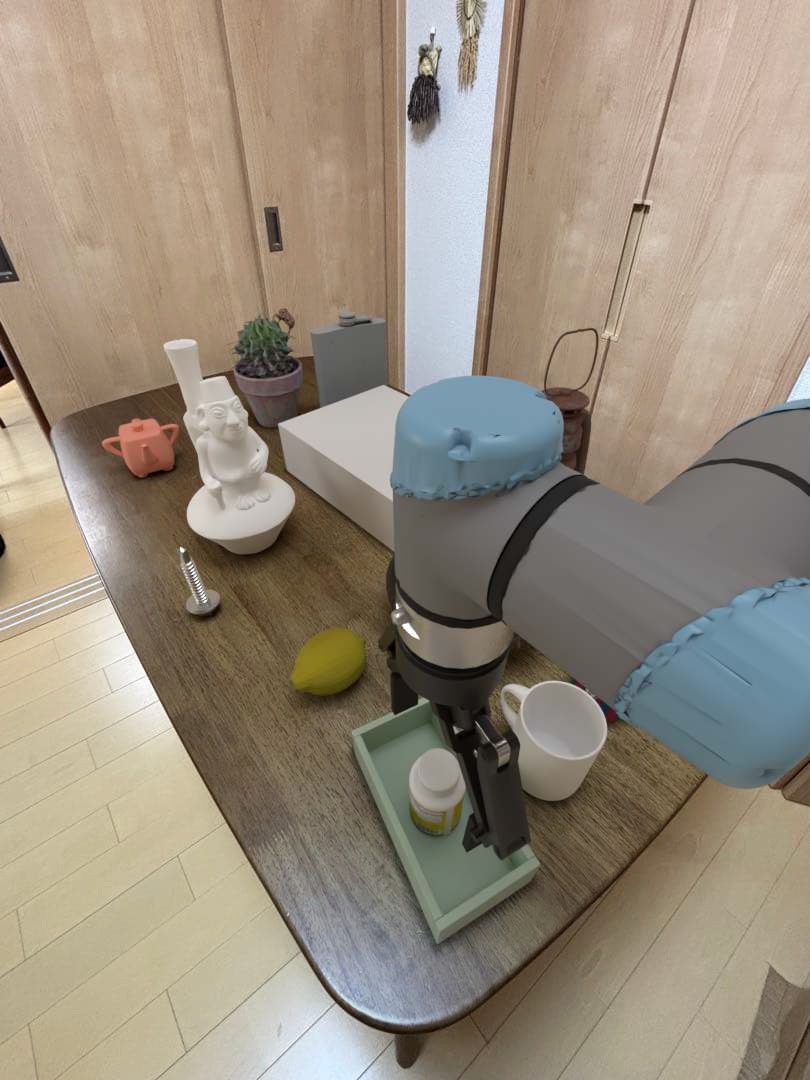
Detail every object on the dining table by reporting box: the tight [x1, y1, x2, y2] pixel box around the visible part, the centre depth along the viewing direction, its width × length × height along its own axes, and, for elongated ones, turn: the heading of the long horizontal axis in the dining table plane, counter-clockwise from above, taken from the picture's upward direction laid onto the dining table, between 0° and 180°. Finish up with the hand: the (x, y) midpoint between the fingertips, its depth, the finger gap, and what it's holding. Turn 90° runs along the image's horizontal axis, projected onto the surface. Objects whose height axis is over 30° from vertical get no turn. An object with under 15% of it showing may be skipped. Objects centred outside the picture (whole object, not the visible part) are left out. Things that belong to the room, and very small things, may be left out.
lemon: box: [289, 626, 367, 696], centre depth 62 cm, size 11×8×8 cm
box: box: [277, 385, 409, 552], centre depth 96 cm, size 28×35×11 cm
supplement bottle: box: [409, 748, 466, 837], centre depth 48 cm, size 6×6×10 cm
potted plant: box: [224, 308, 304, 429], centre depth 112 cm, size 18×20×25 cm
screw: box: [175, 546, 221, 618], centre depth 69 cm, size 13×5×5 cm
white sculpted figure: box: [162, 338, 296, 555], centre depth 77 cm, size 18×22×32 cm
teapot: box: [101, 418, 180, 478], centre depth 101 cm, size 14×12×10 cm
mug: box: [500, 680, 608, 802], centre depth 53 cm, size 9×12×11 cm
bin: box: [351, 697, 541, 945], centre depth 50 cm, size 20×11×6 cm, turn 27°
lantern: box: [540, 327, 599, 475], centre depth 76 cm, size 11×16×35 cm
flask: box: [309, 310, 388, 409], centre depth 112 cm, size 17×5×25 cm, turn 119°
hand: (437, 767), depth 45 cm, fingers open, 13 cm apart
